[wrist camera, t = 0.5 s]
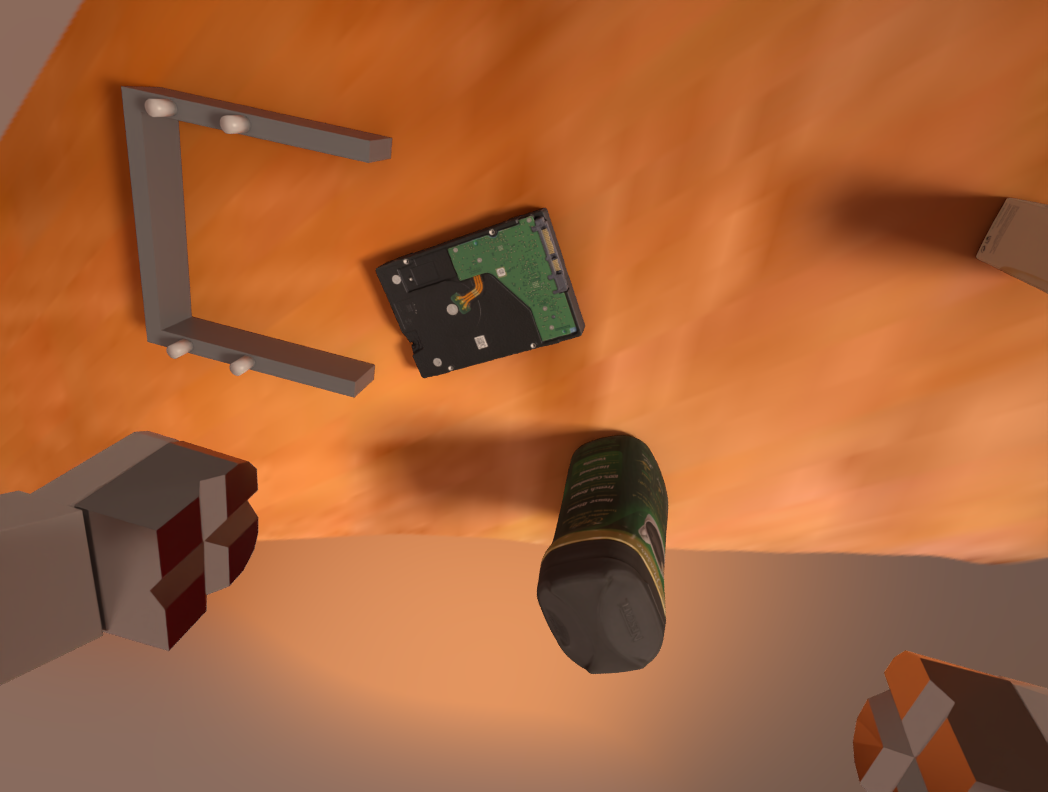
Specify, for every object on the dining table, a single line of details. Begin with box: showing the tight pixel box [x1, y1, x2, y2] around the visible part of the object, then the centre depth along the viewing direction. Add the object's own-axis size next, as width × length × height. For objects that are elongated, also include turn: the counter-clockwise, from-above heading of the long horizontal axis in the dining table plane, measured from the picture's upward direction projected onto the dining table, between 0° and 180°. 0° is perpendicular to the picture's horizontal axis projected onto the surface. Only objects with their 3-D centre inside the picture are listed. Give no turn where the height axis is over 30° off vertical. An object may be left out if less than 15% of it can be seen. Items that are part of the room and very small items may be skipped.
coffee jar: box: [537, 435, 668, 674], centre depth 49 cm, size 10×8×19 cm
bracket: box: [121, 86, 392, 397], centre depth 52 cm, size 21×20×6 cm
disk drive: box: [376, 208, 585, 378], centre depth 52 cm, size 10×3×15 cm
